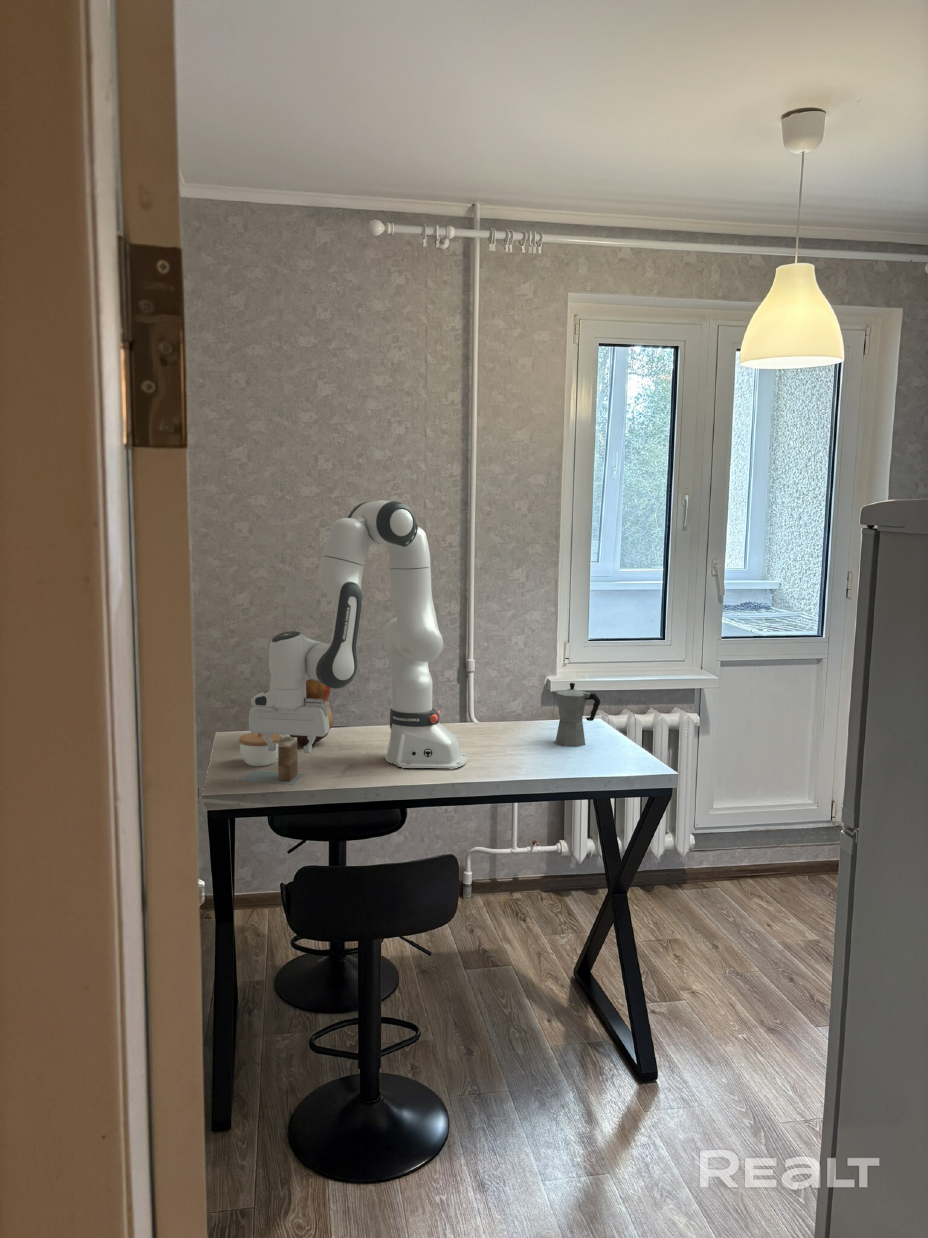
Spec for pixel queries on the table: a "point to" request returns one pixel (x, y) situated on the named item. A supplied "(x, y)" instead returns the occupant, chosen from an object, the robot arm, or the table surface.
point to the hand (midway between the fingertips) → (289, 751)
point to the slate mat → (268, 777)
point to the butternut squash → (316, 692)
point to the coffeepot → (573, 715)
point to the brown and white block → (287, 759)
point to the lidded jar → (258, 749)
